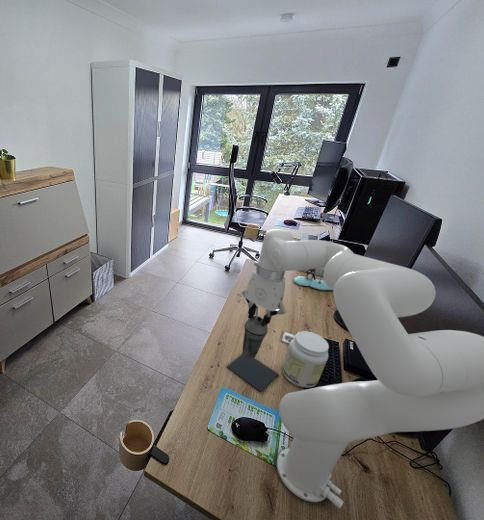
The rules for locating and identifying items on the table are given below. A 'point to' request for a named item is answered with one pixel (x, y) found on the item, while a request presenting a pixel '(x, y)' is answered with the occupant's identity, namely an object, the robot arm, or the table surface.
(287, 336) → the vintage car picture box
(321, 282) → the penguin figurine
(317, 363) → the supplement tub
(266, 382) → the mat
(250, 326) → the beverage cup
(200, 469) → the table surface
